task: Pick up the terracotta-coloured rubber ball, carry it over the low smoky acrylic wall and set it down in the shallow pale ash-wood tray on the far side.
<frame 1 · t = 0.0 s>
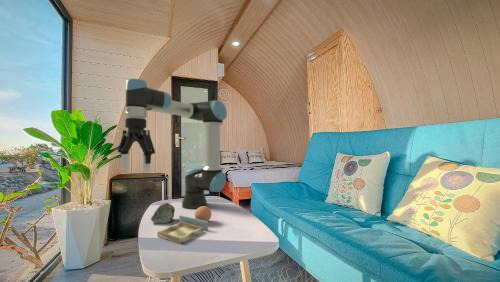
hand: (135, 171, 88), 28 cm above the table, fingers open, 13 cm apart
ball: (203, 222, 109), on the table
stone: (164, 221, 110), on the table
tray: (181, 234, 94), on the table
wall: (193, 227, 102), on the table
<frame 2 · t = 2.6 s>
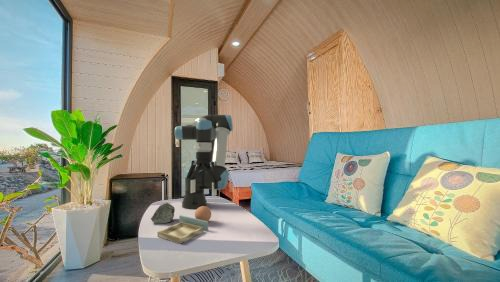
hand: (203, 194, 108), 14 cm above the table, fingers open, 13 cm apart
nothing on the table moved.
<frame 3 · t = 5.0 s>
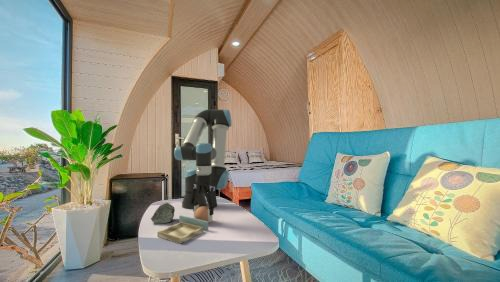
hand: (203, 219, 109), 1 cm above the table, fingers closed on ball, 8 cm apart
ball: (203, 222, 109), on the table, touching gripper
everything else where it was.
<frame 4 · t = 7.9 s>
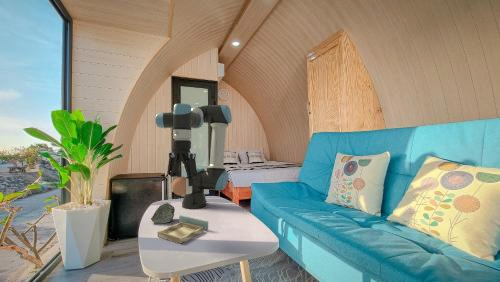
hand: (181, 192, 95), 18 cm above the table, fingers closed on ball, 8 cm apart
ball: (181, 195, 94), point 17 cm above the table, touching gripper
everything else where it was.
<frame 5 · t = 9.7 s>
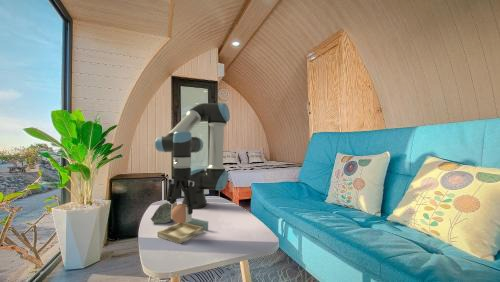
hand: (181, 219, 94), 6 cm above the table, fingers closed on ball, 8 cm apart
ball: (181, 222, 94), point 5 cm above the table, touching gripper
everything else where it was.
when the fingers open (3 cm above the table, at t = 11.3 s): ball drops 1 cm, resting on tray.
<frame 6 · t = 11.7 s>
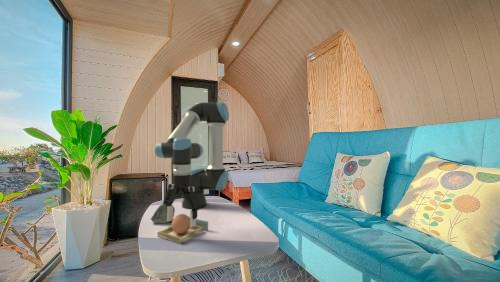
hand: (181, 223, 94), 5 cm above the table, fingers open, 13 cm apart
ball: (181, 232, 94), point 1 cm above the table, touching tray
everything else where it was.
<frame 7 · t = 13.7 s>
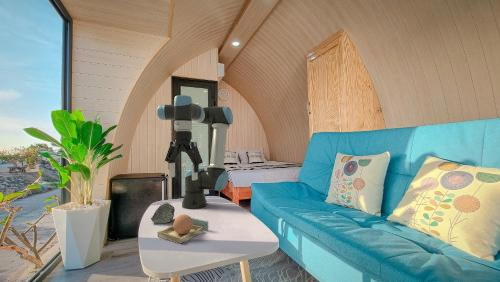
hand: (183, 178, 97), 24 cm above the table, fingers open, 13 cm apart
ball: (181, 232, 94), point 1 cm above the table, tilted 18°, touching tray
everything else where it was.
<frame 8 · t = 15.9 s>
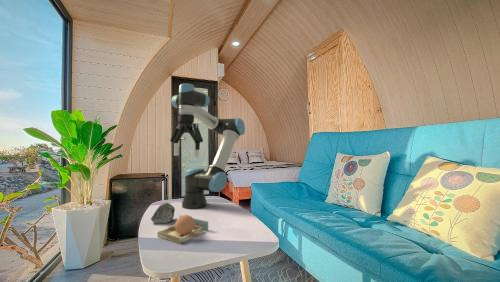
hand: (186, 156, 112), 33 cm above the table, fingers open, 13 cm apart
ball: (181, 231, 94), point 1 cm above the table, tilted 34°, touching tray
everything else where it was.
at the end: ball 0.1 cm from the tray (horizontally); ball point 1.2 cm above the table; the gripper is holding nothing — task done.
